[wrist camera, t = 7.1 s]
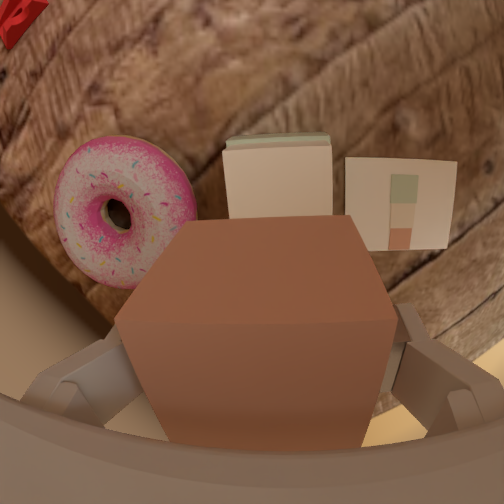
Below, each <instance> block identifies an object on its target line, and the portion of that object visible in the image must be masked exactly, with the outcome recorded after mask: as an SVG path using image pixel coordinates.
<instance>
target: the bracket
mask: <svg viewBox="0 0 504 504" xmlns="http://www.w3.org/2000/svg"><path fill="white" fill-rule="evenodd" d="M48 4H49V3H48V1H47V0H4V1H3V3H2V5H1V7H0V35H1V38H2V40H3V42H4V44H5V46H6V48H7V49H12V48H13V46H14V45H15V44H16V42H17V41H18V40H19V38H20V37H21V36H22V35H23V33H24V32H25V31H26V30H27V28H28V27H29V26H30V25H31V24H32V22H33V21H34V20H35V19H36V18H37V17H38V15H39V14H40V13H41V12H42V11H43V10H44V9H45V8H46V7H47V5H48Z"/></svg>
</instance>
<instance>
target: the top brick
mask: <svg viewBox="0 0 504 504" xmlns="http://www.w3.org/2000/svg"><path fill="white" fill-rule="evenodd" d="M114 321H115V324H116V327H117V329H118V332H119V334H120V337H121V339H122V342H123V344H124V347H125V349H126V352H127V354H128V356H129V359H130V361H131V363H132V366H133V368H134V370H135V372H136V375H137V377H138V379H139V381H140V383H141V386H142V388H143V390H144V392H145V394H146V396H147V398H148V400H149V402H150V404H151V406H152V408H153V410H154V412H155V414H156V416H157V418H158V420H159V422H160V424H161V426H162V428H163V430H164V431H165V433H166V435H167V437H168V439H169V441H170V442H174V443H181V444H188V445H196V446H204V447H214V448H225V449H238V450H257V451H318V450H336V449H349V448H360V447H361V445H362V443H363V440H364V437H365V434H366V432H367V429H368V426H369V423H370V420H371V417H372V414H373V411H374V408H375V405H376V402H377V398H378V395H379V392H380V389H381V385H382V382H383V378H384V375H385V371H386V367H387V364H388V360H389V356H390V352H391V348H392V344H393V340H394V336H395V331H396V327H397V322H398V317H397V314H396V312H395V310H394V307H393V305H392V303H391V300H390V298H389V296H388V293H387V291H386V289H385V287H384V284H383V282H382V280H381V278H380V275H379V273H378V271H377V269H376V267H375V265H374V263H373V260H372V258H371V256H370V254H369V252H368V250H367V248H366V246H365V244H364V242H363V240H362V238H361V236H360V234H359V232H358V230H357V228H356V226H355V224H354V222H353V220H352V218H351V216H350V215H320V216H287V217H260V218H237V219H216V220H198V221H186V222H185V224H184V225H183V226H182V228H181V229H180V230H179V231H178V233H177V234H176V235H175V236H174V238H173V239H172V240H171V242H170V243H169V244H168V246H167V247H166V248H165V249H164V251H163V252H162V253H161V255H160V256H159V257H158V259H157V260H156V261H155V263H154V264H153V265H152V267H151V268H150V269H149V271H148V272H147V273H146V275H145V276H144V277H143V279H142V280H141V282H140V283H139V284H138V286H137V287H136V288H135V290H134V291H133V293H132V294H131V295H130V297H129V298H128V299H127V301H126V302H125V304H124V305H123V306H122V308H121V309H120V311H119V312H118V314H117V315H116V316H115V318H114Z"/></svg>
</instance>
